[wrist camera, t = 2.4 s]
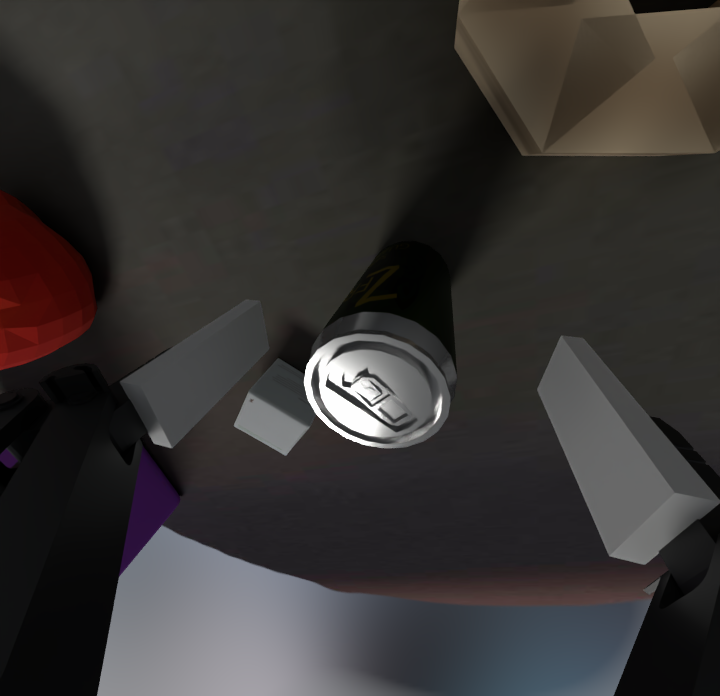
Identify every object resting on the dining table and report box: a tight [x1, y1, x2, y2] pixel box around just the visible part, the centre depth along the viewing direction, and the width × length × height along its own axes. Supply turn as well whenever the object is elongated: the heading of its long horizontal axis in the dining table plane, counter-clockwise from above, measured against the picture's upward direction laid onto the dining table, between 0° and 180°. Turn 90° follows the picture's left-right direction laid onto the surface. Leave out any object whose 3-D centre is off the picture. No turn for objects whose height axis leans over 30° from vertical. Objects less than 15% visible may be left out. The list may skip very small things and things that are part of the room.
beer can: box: [304, 241, 457, 448], centre depth 14 cm, size 5×5×12 cm
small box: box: [234, 358, 316, 456], centre depth 26 cm, size 6×6×5 cm
